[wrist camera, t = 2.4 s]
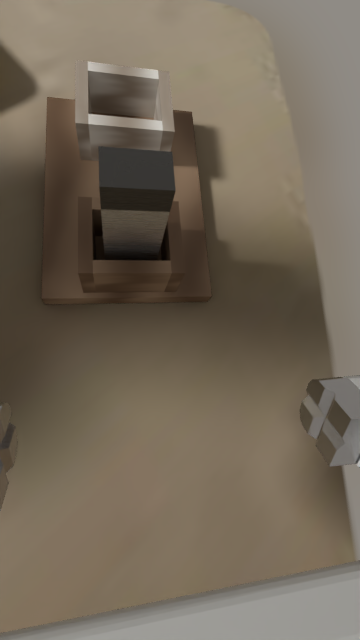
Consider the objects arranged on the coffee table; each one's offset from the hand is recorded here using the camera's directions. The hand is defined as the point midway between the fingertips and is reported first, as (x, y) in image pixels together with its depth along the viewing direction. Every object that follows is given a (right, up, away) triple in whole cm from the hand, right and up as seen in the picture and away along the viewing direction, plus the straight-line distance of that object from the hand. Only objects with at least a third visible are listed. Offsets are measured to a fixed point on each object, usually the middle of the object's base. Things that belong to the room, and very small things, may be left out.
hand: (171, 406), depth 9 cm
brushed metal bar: (-4, +8, +19) cm, 21 cm away
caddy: (-5, +14, +22) cm, 26 cm away
